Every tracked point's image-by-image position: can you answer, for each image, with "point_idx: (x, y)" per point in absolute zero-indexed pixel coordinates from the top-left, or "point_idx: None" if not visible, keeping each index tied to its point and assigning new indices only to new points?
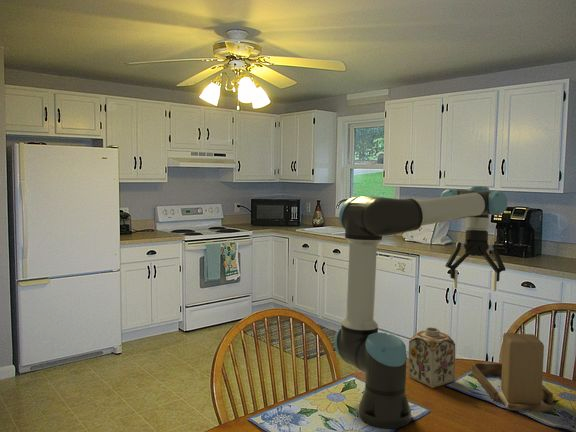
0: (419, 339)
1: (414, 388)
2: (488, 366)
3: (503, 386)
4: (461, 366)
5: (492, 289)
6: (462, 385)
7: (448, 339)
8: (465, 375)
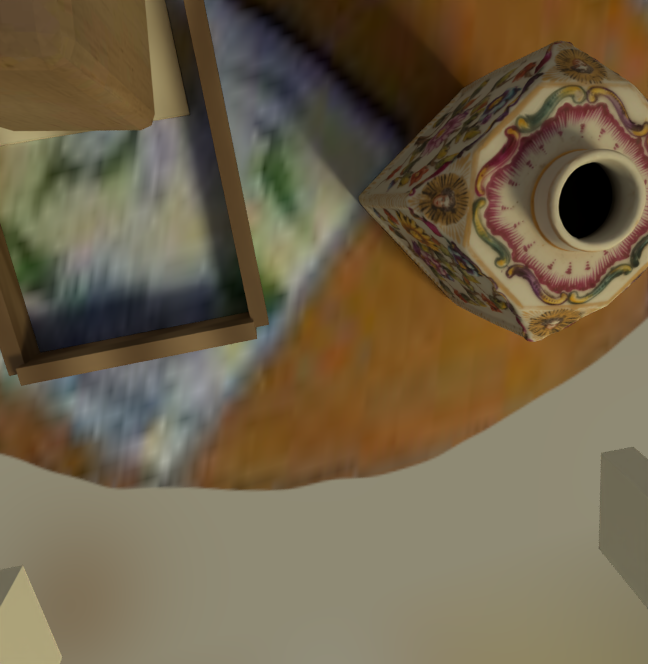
0: None
1: None
2: (188, 331)
3: (144, 53)
4: (305, 392)
5: (41, 633)
6: (326, 160)
7: (475, 145)
8: (298, 286)
